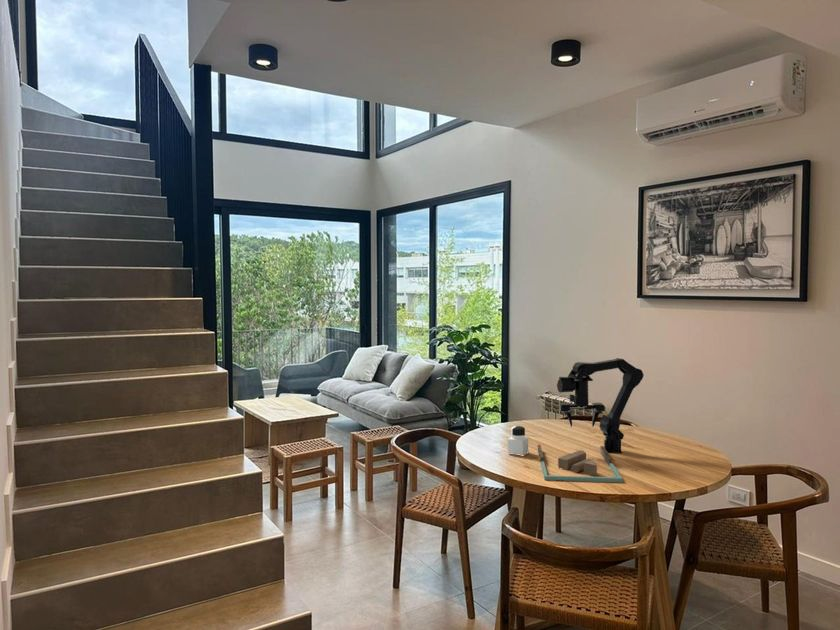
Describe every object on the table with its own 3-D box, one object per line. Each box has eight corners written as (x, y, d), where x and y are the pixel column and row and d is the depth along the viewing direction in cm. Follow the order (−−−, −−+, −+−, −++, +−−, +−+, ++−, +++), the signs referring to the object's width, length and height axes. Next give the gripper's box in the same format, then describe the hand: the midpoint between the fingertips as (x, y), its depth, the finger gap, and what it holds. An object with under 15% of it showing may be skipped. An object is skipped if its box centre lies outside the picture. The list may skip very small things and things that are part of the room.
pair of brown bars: (603, 452, 251) (603, 445, 251) (612, 466, 231) (611, 458, 231) (537, 451, 255) (537, 444, 255) (540, 464, 235) (540, 457, 235)
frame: (612, 467, 230) (612, 463, 230) (622, 482, 211) (622, 478, 211) (541, 465, 234) (540, 461, 234) (544, 480, 215) (544, 476, 215)
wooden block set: (556, 455, 229) (579, 446, 242) (556, 469, 229) (579, 460, 242) (595, 463, 217) (617, 454, 230) (595, 478, 217) (617, 468, 230)
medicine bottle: (528, 452, 252) (528, 426, 252) (523, 456, 246) (522, 429, 246) (513, 450, 256) (513, 424, 256) (507, 454, 250) (507, 427, 250)
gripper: (599, 388, 257) (600, 422, 257) (557, 388, 259) (558, 422, 259) (604, 392, 246) (605, 428, 246) (560, 392, 248) (561, 428, 248)
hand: (582, 426), depth 250 cm, fingers open, 9 cm apart
